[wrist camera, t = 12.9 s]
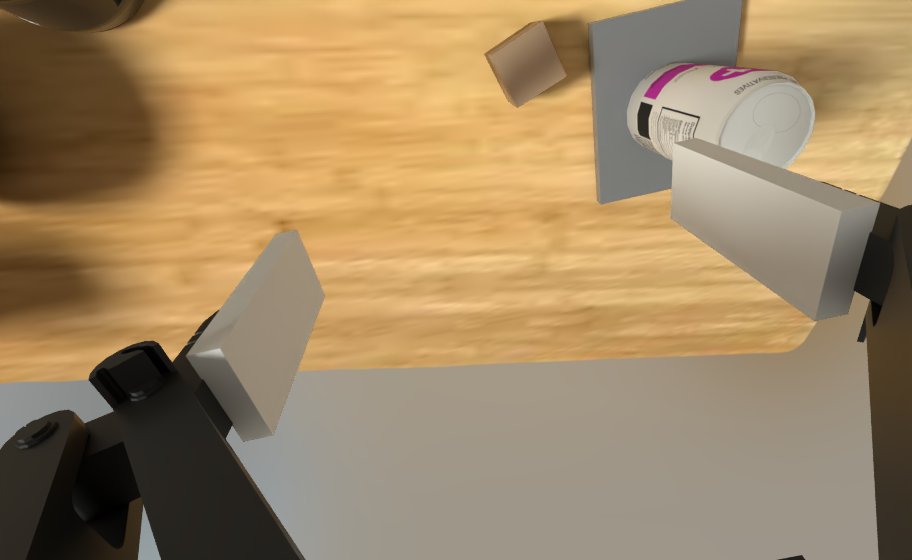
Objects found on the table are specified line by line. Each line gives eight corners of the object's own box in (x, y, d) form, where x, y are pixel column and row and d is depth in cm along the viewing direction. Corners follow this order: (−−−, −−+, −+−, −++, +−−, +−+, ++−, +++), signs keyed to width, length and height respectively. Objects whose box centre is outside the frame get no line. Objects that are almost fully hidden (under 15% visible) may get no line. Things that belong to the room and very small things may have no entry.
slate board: (588, 23, 41) (592, 22, 40) (735, -13, 41) (743, -14, 40) (597, 200, 50) (600, 204, 49) (718, 173, 49) (724, 176, 48)
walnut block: (484, 53, 42) (491, 55, 38) (529, 22, 41) (542, 20, 37) (507, 101, 44) (517, 107, 40) (552, 72, 43) (566, 76, 39)
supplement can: (647, 51, 42) (752, 56, 28) (719, 77, 43) (849, 93, 30) (610, 135, 45) (687, 174, 32) (677, 156, 47) (777, 202, 34)
